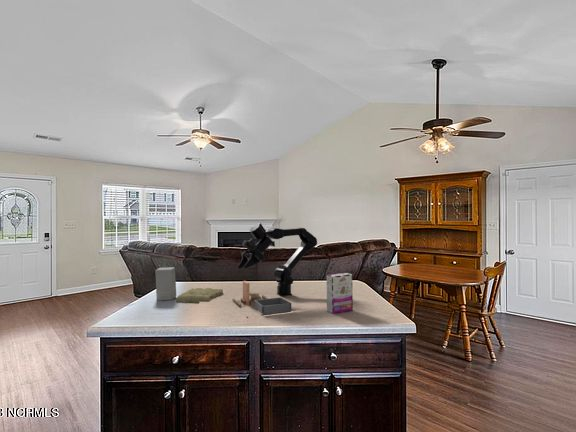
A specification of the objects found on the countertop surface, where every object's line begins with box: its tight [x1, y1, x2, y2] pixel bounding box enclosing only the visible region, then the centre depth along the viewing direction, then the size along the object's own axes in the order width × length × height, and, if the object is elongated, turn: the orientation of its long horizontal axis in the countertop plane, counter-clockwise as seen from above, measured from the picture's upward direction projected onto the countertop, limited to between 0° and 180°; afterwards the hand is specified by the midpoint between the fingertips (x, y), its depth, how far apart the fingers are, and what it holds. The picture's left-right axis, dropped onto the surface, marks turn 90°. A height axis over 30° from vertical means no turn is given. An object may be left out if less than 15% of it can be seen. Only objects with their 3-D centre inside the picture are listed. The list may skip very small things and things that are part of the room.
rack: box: [232, 295, 269, 308], centre depth 156 cm, size 16×12×2 cm
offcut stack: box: [249, 291, 262, 304], centre depth 156 cm, size 4×5×4 cm
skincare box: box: [155, 266, 177, 301], centre depth 165 cm, size 8×7×16 cm
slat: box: [242, 280, 250, 305], centre depth 154 cm, size 1×6×10 cm, turn 25°
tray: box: [253, 296, 292, 316], centre depth 145 cm, size 14×12×4 cm
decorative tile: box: [175, 287, 224, 303], centre depth 168 cm, size 19×20×4 cm
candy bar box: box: [326, 272, 354, 315], centre depth 144 cm, size 11×5×16 cm, turn 117°
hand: (241, 268), depth 160 cm, fingers open, 9 cm apart
